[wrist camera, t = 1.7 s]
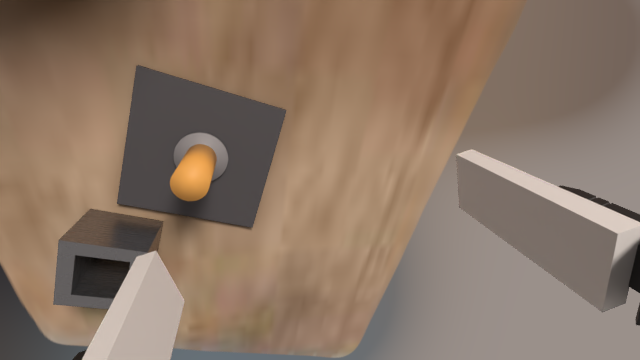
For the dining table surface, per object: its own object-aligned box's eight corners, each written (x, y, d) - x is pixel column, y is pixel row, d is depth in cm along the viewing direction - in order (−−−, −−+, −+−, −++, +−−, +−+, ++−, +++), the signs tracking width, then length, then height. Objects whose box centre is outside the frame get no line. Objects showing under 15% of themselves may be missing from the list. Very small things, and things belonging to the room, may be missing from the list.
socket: (83, 264, 35) (53, 304, 29) (90, 208, 33) (58, 240, 27) (153, 273, 37) (136, 311, 31) (163, 221, 35) (147, 252, 29)
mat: (119, 200, 33) (117, 203, 32) (138, 65, 29) (136, 65, 28) (252, 224, 37) (252, 227, 37) (285, 109, 33) (286, 110, 32)
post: (170, 174, 32) (150, 206, 26) (179, 125, 31) (160, 146, 24) (222, 185, 34) (215, 218, 27) (233, 139, 32) (229, 162, 26)
